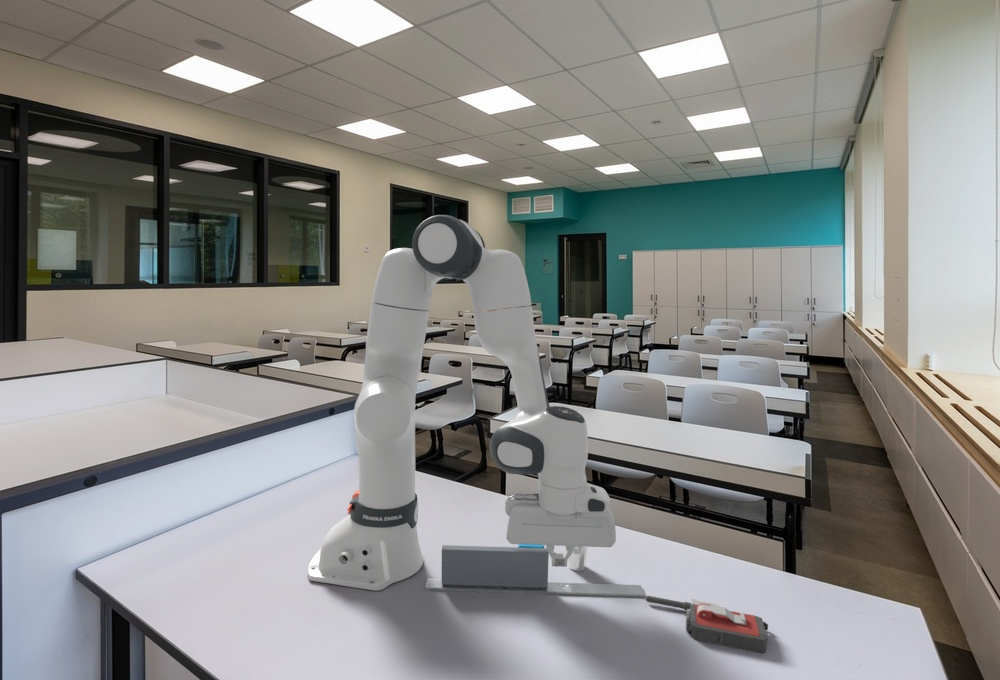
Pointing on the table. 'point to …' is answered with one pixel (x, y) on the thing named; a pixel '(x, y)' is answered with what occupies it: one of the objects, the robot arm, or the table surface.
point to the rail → (546, 589)
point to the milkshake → (578, 558)
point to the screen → (495, 566)
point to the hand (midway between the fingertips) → (559, 565)
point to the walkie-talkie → (721, 625)
